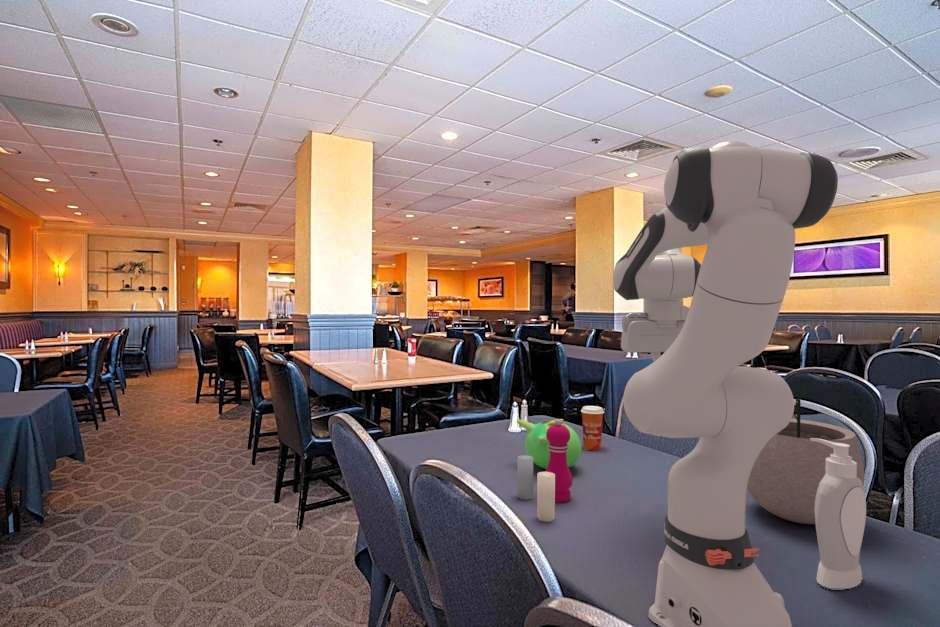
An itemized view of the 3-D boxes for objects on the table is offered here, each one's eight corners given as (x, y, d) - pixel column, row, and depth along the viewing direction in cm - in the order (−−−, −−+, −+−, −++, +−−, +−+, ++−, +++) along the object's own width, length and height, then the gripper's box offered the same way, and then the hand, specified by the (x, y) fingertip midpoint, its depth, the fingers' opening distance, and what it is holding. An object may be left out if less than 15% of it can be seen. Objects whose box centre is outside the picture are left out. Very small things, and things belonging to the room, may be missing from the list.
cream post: (557, 521, 111) (557, 476, 111) (540, 522, 111) (540, 478, 111) (551, 513, 115) (551, 471, 115) (534, 515, 115) (535, 472, 114)
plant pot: (783, 492, 129) (785, 377, 129) (889, 531, 107) (891, 392, 106) (714, 505, 120) (716, 382, 120) (814, 550, 98) (816, 400, 98)
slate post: (535, 499, 124) (535, 459, 124) (519, 500, 123) (519, 460, 123) (530, 493, 128) (530, 454, 128) (515, 494, 127) (515, 455, 127)
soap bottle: (829, 560, 94) (831, 433, 94) (877, 580, 87) (879, 443, 87) (787, 575, 89) (788, 441, 89) (834, 598, 82) (835, 452, 82)
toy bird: (592, 474, 143) (592, 423, 142) (541, 481, 136) (541, 428, 136) (558, 456, 159) (559, 411, 159) (512, 462, 153) (512, 415, 153)
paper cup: (579, 450, 166) (580, 409, 166) (581, 444, 173) (581, 404, 173) (603, 452, 164) (604, 410, 163) (604, 446, 171) (604, 406, 171)
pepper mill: (554, 505, 120) (555, 423, 120) (537, 495, 127) (538, 417, 126) (578, 500, 124) (578, 420, 123) (560, 490, 130) (561, 414, 130)
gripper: (629, 313, 113) (628, 373, 113) (709, 313, 116) (709, 371, 116) (616, 312, 119) (615, 370, 119) (692, 312, 123) (692, 368, 123)
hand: (662, 371), depth 118 cm, fingers closed
